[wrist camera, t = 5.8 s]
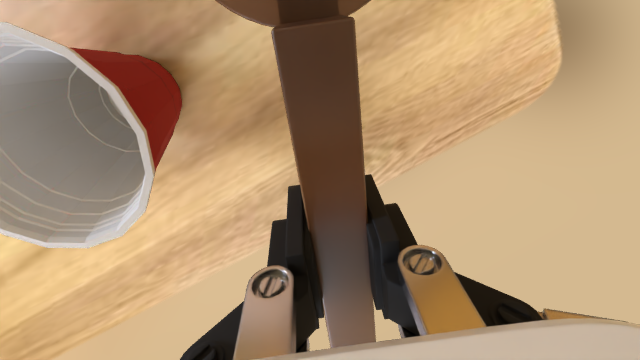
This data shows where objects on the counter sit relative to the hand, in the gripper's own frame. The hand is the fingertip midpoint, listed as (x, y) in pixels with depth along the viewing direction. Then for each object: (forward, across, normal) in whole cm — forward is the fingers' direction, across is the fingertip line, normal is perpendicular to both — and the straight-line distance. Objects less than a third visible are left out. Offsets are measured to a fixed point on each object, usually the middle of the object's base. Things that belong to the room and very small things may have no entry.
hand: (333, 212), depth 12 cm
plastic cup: (+15, +13, -3) cm, 20 cm away
